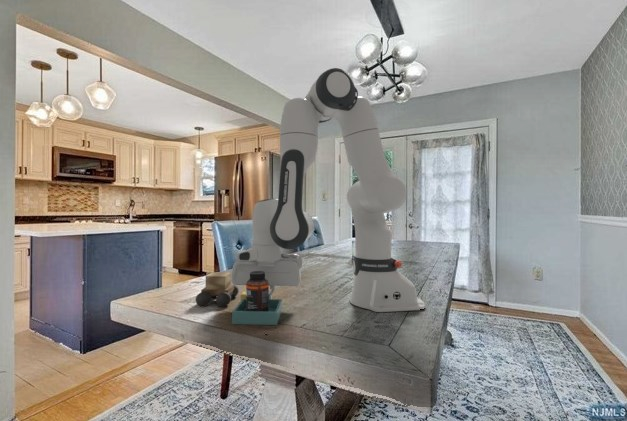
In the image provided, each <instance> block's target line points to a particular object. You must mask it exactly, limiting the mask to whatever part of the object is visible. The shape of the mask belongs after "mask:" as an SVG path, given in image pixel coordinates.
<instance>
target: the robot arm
mask: <svg viewBox="0 0 627 421" xmlns="http://www.w3.org/2000/svg"><path fill="white" fill-rule="evenodd" d="M332 118H334V119H335V120H336V121H337V123H338V125H339V127H340V129H341V135H342V140H343V144H344V149H345V153H346V157H347V162H348V164H349V166H350V167H351V168H353V170H354V172H355V174H356V176H357V178H358V181H356V182H355V183H354V184H352V185H351V186H350V187H349V189H348V190H347V193H346V201H347V203H348V206H349V207H350V209H351V215H352V220H353V225H354V232H355V235H354V236H355V240H354V241H355V246H354V247H355V250H354V251H355V255H354V257H353V261H352V263H353V270H352V271H353V274H354V277H353V285H352V289H351V293H350V298H349V303H350V304H352V305H353V306H355V307H359V308H363V309H367V310H370V311H373V312H376V313H385V312H387V313H389V312H390V313H391V312H404V311H406V312H407V311H408V312H409V311H421V310H420V309H424V308H426V305H425V302H424V301H423V300H422V299H421V298H420V297H418V292H417V289H416V287H415V285H414V283H413V282H412V281H411V280H409V279H408V278H407V277H406V276H405V275H403V273H401V272H400V271H399V270H398V269H400V268H402V267H403V262H401V261H400V260H398V259H397V260H396V259H395V258H393V257H392V232H391V230H390V227H389V226H388V224H387V221H386V218H385V214H388V213H391V212H394V211H396V210H398V209H400V208H401V207H402V206H403V205H404V203H406V200H407V187H406V186H405V184H404V182H403V181H402V180H401V179H400V178H399V177H397V176H396V175H395V172H394V171H393V170H392V168H391V166H390V164H389V162H388V160H387V157H386V155H385V152H384V147H383V144H382V139H381V135H380V131H379V126H378V122H377V119H376V115H375V112H374V110H373V108H372V105H371V103H370V101H369V99H367V98H366V97H363V96H359V91H358V89H357V88H356V86H355V83H354V82H353V79H352V77H351V76H350V75H349V74H348V73H347V72H346V70H343V69H342V68H337V67H334V68H329V69H327V70H325V71H323V72H322V73H321V74H320V75H319V76H318V78H317V79H316V80H315V81H314V82H313V84H312V85H311V87H310V90H309V91H308V93H307V94H306V96H305V97H294V98H291V99H289V100H287V101H286V103H285V104H284V106H283V110H282V115H281V119H280V120H281V121H280V126H279V127H280V130H279V156H280V173H279V182H278V183H279V184H278V186H279V187H278V198H276V197H275V198H274V197H273V198H266V199H261V200H258V201H257V202H256V203H255V205H254V206H253V212H252V223H251V224H252V225H251V227H252V228H251V229H252V232H253V233H252V235H253V238H252V241H251V248H250V247H249V248H246V249H242V250H240V251H237V253H235V260H236V261H235V262H234V263H233V265H232V270H231V284H232V285H236V286H246V283H247V281H248V280H249V279H250V272H253V271H264V272H265V279H266V280H268V283H269V290H270V292H269V299H273V296H272V295H273V293H274V291H275V290H276V287H299V285H300V284H301V282H302V274H301V268H302V266H303V259H302V257H301V256H300V255H298V254H297V253H291V254H290V253H283V249H286V250H294V249H297V248H300V247H301V246H302V245H303V244H304V243H305V242H306V241H307V240H309V238H311V237H312V235H313V234H314V231H315V222H314V219H313V217H312V216H311V215H310V214H308V213H307V211H304V210H303V200H304V199H303V198H304V185H305V184H304V183H305V182H304V181H305V176H306V172H307V171H308V169H309V168H310V167H311V166H312V165H313V164H314V162H315V161H316V156H317V152H318V144H319V143H318V142H319V124H322V123H326V122H329V121H330V120H332ZM424 310H425V309H424Z"/></svg>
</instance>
